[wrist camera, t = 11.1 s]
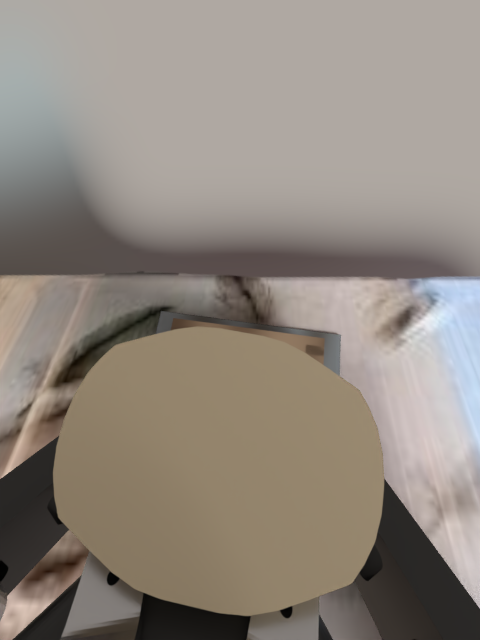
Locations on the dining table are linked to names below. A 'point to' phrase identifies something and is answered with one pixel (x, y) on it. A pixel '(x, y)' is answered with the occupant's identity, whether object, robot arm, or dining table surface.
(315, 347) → the socket holder
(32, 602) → the dining table surface
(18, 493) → the robot arm
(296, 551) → the handle
